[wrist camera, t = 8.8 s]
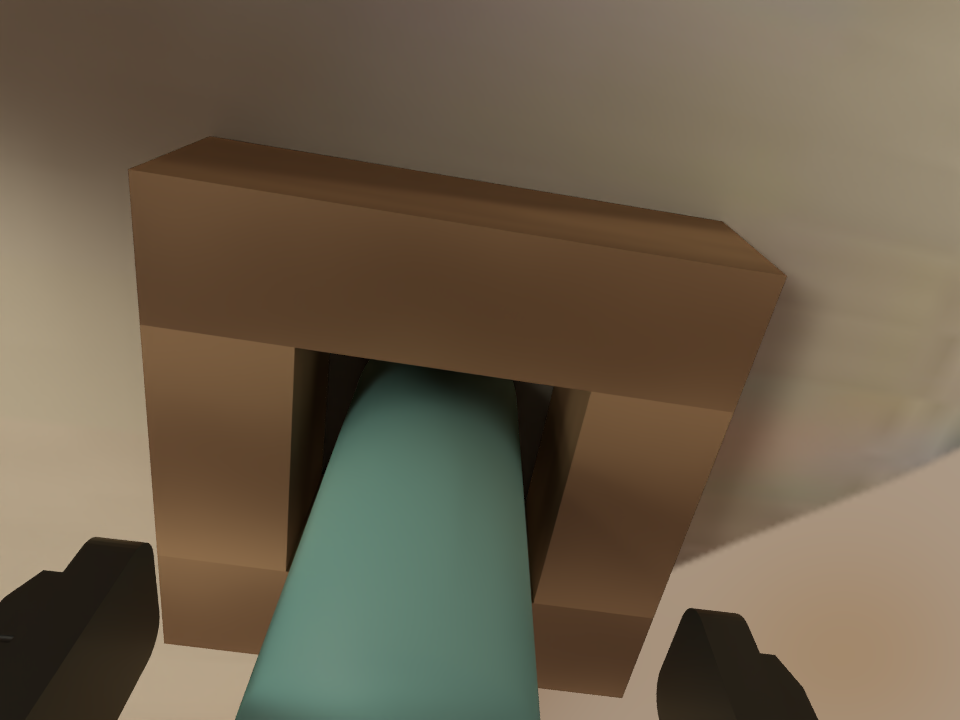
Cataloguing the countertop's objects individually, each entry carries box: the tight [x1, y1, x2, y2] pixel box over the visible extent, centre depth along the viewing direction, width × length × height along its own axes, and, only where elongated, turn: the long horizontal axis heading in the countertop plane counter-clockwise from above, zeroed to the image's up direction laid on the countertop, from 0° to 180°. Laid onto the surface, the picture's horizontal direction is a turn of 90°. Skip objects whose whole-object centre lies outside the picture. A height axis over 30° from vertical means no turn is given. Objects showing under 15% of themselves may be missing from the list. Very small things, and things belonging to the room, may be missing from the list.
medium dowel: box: [235, 359, 540, 720], centre depth 13 cm, size 4×4×9 cm
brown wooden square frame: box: [128, 136, 787, 698], centre depth 15 cm, size 11×11×4 cm
